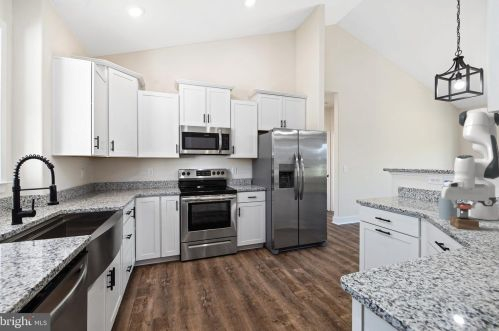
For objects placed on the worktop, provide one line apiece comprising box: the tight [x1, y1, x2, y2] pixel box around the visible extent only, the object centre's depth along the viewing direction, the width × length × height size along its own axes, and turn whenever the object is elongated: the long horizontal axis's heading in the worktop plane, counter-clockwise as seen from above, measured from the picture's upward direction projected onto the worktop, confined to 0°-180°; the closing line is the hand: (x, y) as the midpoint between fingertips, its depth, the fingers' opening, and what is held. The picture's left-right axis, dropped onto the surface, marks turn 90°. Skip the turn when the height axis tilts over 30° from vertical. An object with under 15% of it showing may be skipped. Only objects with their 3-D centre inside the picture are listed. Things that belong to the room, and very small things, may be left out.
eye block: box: [449, 216, 480, 231], centre depth 129 cm, size 9×9×5 cm
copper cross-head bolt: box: [457, 202, 471, 220], centre depth 129 cm, size 6×6×11 cm
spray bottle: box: [438, 179, 458, 221], centre depth 147 cm, size 9×9×25 cm
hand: (464, 207), depth 128 cm, fingers closed on copper cross-head bolt, 6 cm apart
